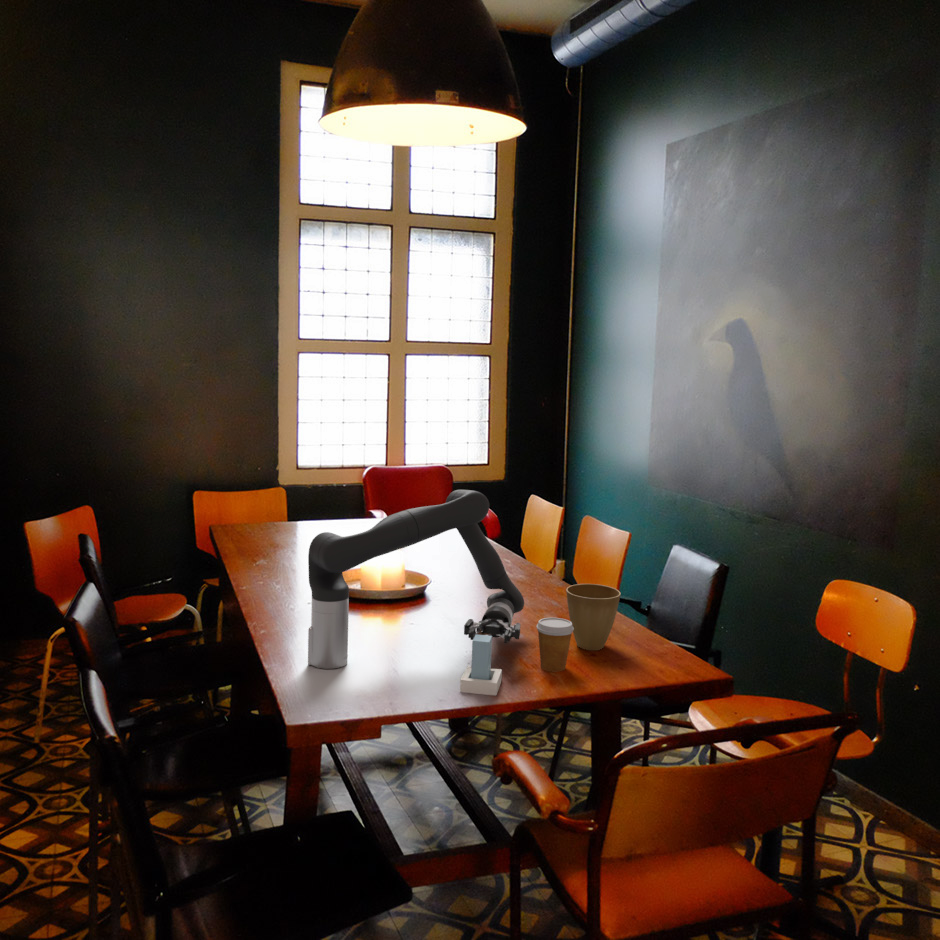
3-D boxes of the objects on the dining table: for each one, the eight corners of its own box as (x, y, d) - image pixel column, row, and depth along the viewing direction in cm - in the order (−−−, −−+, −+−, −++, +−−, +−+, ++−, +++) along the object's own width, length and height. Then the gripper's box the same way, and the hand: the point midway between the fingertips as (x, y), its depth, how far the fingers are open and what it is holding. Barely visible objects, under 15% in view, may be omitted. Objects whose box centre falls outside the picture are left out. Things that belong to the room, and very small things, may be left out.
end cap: (460, 692, 205) (460, 679, 205) (466, 677, 215) (467, 666, 214) (496, 695, 204) (496, 683, 204) (501, 681, 213) (501, 669, 213)
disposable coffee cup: (568, 661, 230) (571, 617, 228) (574, 674, 220) (576, 628, 219) (532, 660, 229) (534, 616, 228) (536, 673, 220) (538, 627, 218)
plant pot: (554, 640, 247) (557, 585, 245) (600, 636, 252) (603, 582, 250) (578, 657, 233) (582, 599, 231) (627, 652, 239) (630, 595, 237)
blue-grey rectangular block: (470, 689, 207) (472, 640, 206) (473, 682, 212) (475, 634, 211) (487, 691, 207) (489, 642, 205) (490, 683, 212) (492, 635, 210)
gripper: (471, 603, 235) (461, 620, 219) (524, 607, 232) (517, 625, 216) (470, 630, 235) (460, 649, 220) (523, 635, 233) (516, 654, 217)
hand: (488, 637), depth 218 cm, fingers open, 8 cm apart
